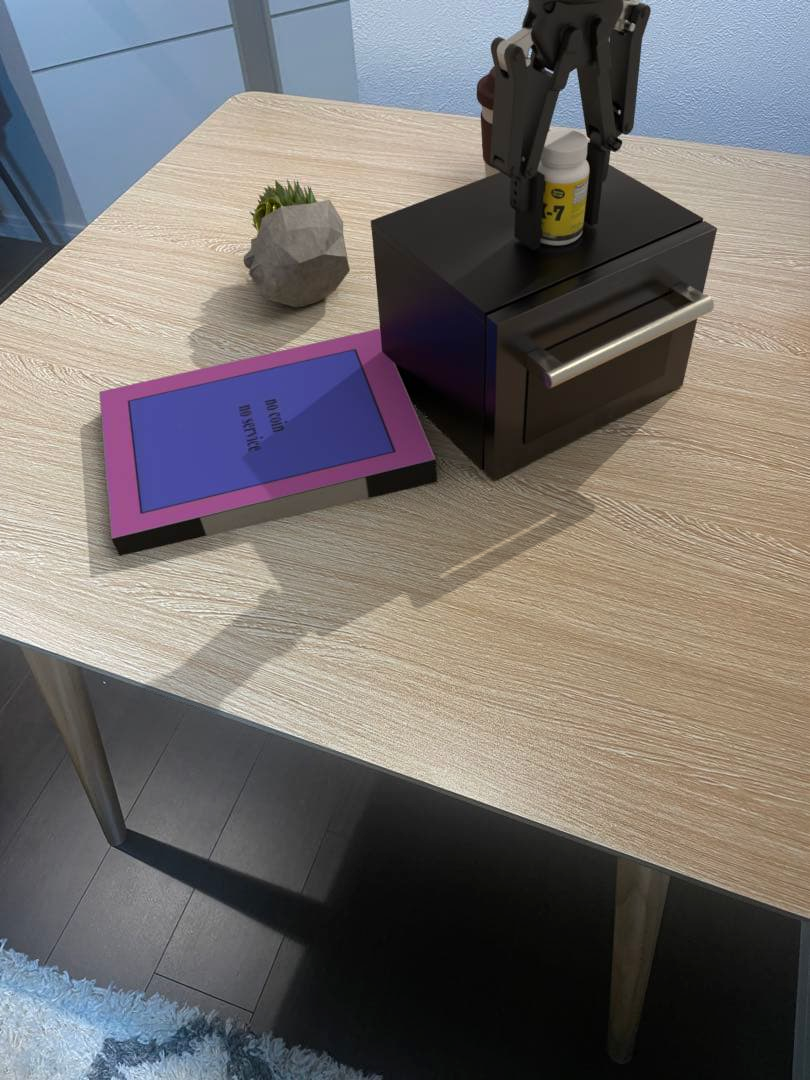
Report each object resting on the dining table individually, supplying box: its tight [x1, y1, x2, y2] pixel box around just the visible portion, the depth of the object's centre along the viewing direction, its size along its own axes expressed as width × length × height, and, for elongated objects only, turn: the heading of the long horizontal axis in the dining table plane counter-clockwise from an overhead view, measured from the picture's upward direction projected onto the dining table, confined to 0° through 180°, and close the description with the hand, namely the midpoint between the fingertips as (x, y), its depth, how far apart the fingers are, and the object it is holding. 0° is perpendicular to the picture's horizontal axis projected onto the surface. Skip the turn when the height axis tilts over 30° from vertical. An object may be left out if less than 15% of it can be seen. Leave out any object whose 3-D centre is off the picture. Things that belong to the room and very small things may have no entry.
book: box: [98, 327, 438, 557], centre depth 90 cm, size 21×3×30 cm
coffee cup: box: [476, 65, 551, 178], centre depth 117 cm, size 10×10×15 cm
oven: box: [370, 164, 704, 472], centre depth 90 cm, size 18×24×18 cm
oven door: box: [483, 220, 718, 482], centre depth 83 cm, size 5×24×18 cm, turn 123°
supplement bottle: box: [537, 129, 589, 246], centre depth 78 cm, size 5×5×8 cm
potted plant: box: [243, 178, 351, 309], centre depth 106 cm, size 12×13×15 cm
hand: (556, 229), depth 81 cm, fingers open, 6 cm apart
